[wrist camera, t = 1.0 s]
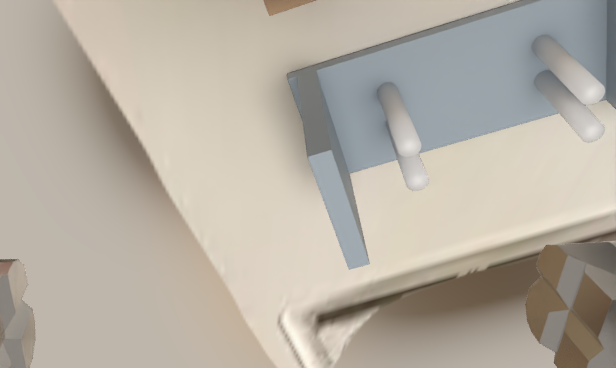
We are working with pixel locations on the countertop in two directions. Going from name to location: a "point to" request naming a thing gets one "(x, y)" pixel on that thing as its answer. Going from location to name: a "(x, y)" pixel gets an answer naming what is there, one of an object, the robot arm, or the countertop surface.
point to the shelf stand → (451, 94)
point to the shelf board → (283, 5)
